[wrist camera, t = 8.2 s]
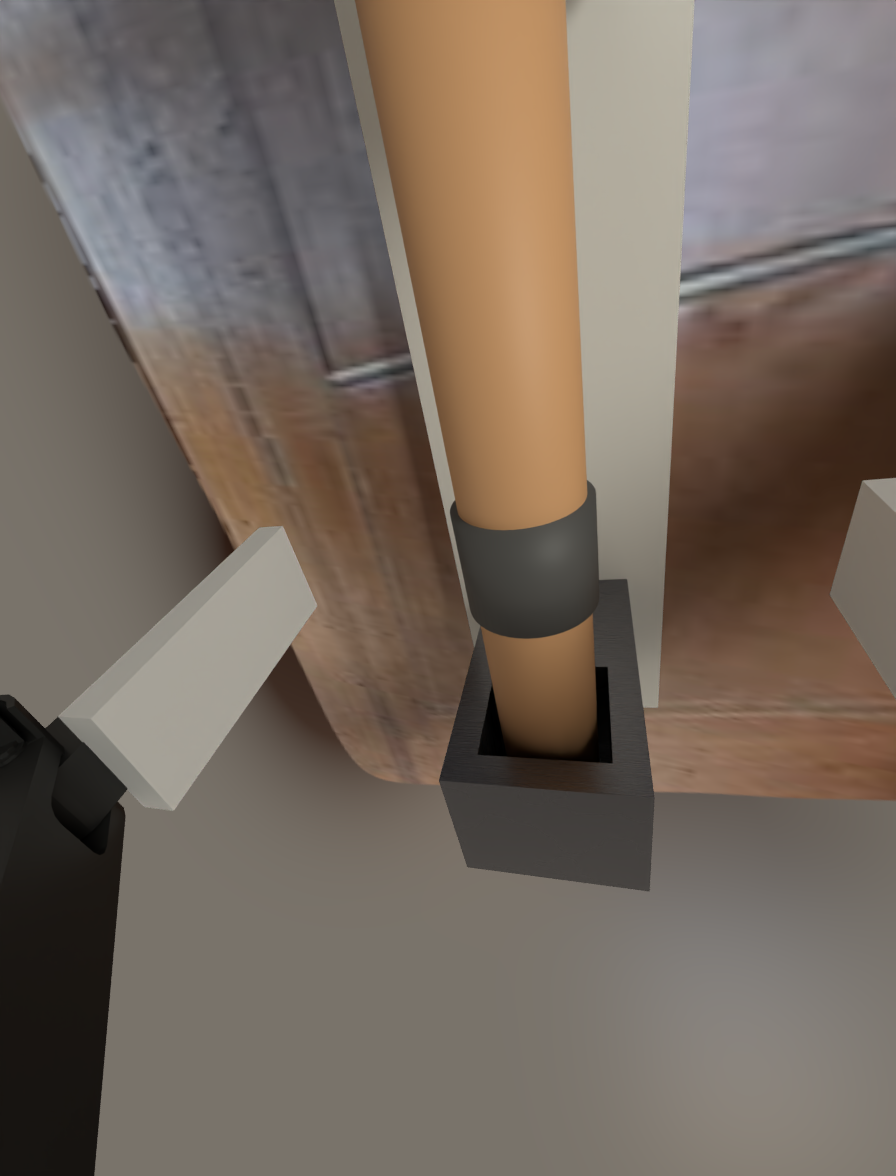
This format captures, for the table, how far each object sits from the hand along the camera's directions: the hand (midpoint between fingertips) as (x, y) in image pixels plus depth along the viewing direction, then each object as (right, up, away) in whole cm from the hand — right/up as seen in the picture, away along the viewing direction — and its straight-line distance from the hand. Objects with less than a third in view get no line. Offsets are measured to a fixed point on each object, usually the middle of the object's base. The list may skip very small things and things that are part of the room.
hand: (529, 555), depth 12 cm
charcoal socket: (+3, -3, +12) cm, 12 cm away
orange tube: (0, +3, +1) cm, 3 cm away
